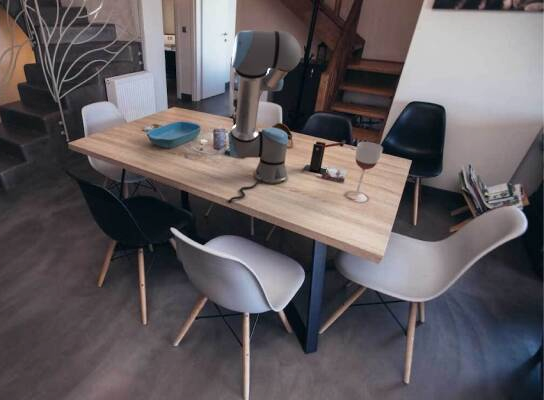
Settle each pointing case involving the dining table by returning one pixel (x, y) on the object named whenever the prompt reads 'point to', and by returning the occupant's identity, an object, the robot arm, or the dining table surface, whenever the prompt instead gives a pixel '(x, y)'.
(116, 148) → the dining table surface
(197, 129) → the casserole dish
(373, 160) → the wineglass
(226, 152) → the button box
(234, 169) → the dining table surface
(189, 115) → the dining table surface
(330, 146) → the lever
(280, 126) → the sword hilt
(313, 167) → the bracket
